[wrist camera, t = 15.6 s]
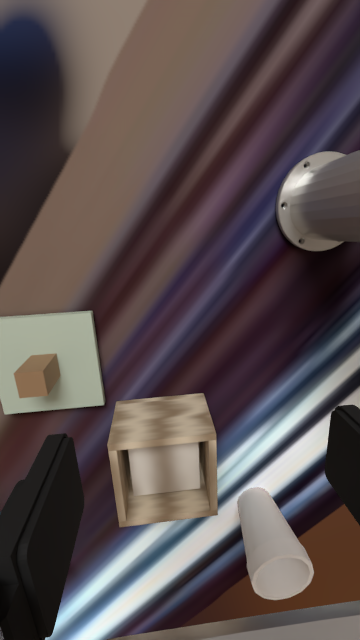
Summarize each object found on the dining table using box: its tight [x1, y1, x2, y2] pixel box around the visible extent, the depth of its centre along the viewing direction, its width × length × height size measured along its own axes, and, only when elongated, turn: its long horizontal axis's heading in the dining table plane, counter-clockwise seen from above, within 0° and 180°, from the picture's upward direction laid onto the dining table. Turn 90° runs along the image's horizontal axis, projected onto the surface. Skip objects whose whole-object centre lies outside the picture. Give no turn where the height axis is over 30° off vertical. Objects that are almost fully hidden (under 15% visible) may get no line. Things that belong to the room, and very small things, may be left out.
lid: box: [0, 311, 105, 414], centre depth 41 cm, size 15×15×8 cm
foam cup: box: [238, 487, 314, 600], centre depth 49 cm, size 10×9×13 cm
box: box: [108, 393, 218, 527], centre depth 45 cm, size 14×14×10 cm
